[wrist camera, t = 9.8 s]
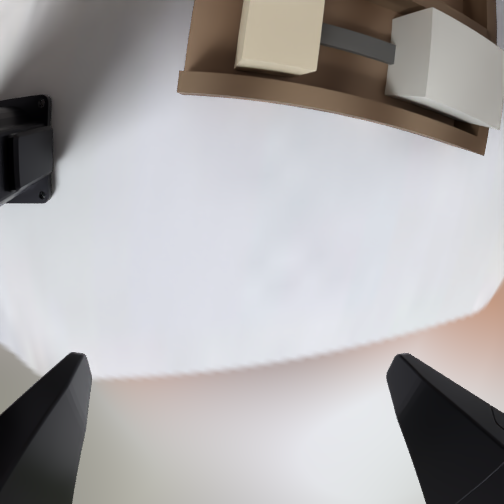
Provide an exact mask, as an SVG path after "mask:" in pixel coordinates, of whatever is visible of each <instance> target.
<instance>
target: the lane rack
mask: <svg viewBox="0 0 504 504" xmlns="http://www.w3.org/2000/svg"><path fill="white" fill-rule="evenodd" d="M243 2H244V0H195V1H194V7H193V13H192V19H191V25H190V32H189V38H188V45H187V53H186V60H185V68H184V71H179V79H178V87H177V92H178V93H180V94H182V95H198V96H212V97H224V98H235V99H244V100H253V101H261V102H269V103H276V104H283V105H290V106H296V107H302V108H308V109H313V110H319V111H324V112H329V113H334V114H339V115H344V116H348V117H353V118H357V119H362V120H366V121H370V122H374V123H378V124H382V125H386V126H390V127H393V128H397V129H401V130H404V131H408V132H411V133H414V134H418V135H421V136H424V137H428V138H431V139H434V140H437V141H440V142H443V143H446V144H449V145H452V146H455V147H458V148H462V149H465V150H468V151H471V152H474V153H477V154H480V155H483V156H484V154H485V148H486V143H487V137H488V131H489V127H485V126H480V125H476V124H471V123H466V122H462V121H457V120H454V119H452V118H449V117H447V116H444V115H442V114H439V113H437V112H434V111H431V110H429V109H426V108H423V107H420V106H417V105H414V104H411V103H408V102H405V101H402V100H399V99H396V98H393V97H390V96H386V95H385V87H386V80H387V71H388V64H386V63H383V62H380V61H377V60H374V59H371V58H367V57H364V56H361V55H357V54H354V53H350V52H347V51H343V50H339V49H335V48H331V47H327V46H323V45H320V47H319V55H318V62H317V70H316V71H314V72H310V73H306V74H303V75H299V76H296V77H292V78H291V77H285V76H279V75H273V74H266V73H258V72H251V71H242V70H234V65H235V58H236V50H237V43H238V36H239V29H240V22H241V15H242V8H243ZM431 7H434V8H435V9H437V10H439V11H441V12H443V13H445V14H447V15H449V16H450V17H452V18H454V19H456V20H457V21H459V22H461V23H463V24H464V25H466V26H468V27H469V28H471V29H472V30H474V31H476V32H477V33H479V34H480V35H482V36H483V37H485V38H486V39H488V40H489V41H491V42H492V43H494V44H495V45H497V20H496V0H325V4H324V13H323V22H322V23H326V24H330V25H334V26H337V27H341V28H345V29H348V30H351V31H355V32H358V33H361V34H364V35H368V36H371V37H374V38H377V39H380V40H382V41H385V42H388V43H391V33H392V20H393V19H395V18H398V17H401V16H404V15H407V14H410V13H414V12H417V11H420V10H424V9H427V8H431Z"/></svg>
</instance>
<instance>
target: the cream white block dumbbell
mask: <svg viewBox="0 0 504 504" xmlns="http://www.w3.org/2000/svg"><path fill="white" fill-rule="evenodd" d="M324 4H325V0H244V2H243V8H242V15H241V22H240V29H239V36H238V43H237V50H236V58H235V65H234V70H242V71H251V72H258V73H266V74H273V75H279V76H285V77H291V78H292V77H296V76H299V75H303V74H306V73H310V72H314V71H316V70H317V62H318V55H319V47H320V45H323V46H327V47H331V48H335V49H339V50H343V51H347V52H350V53H354V54H357V55H361V56H364V57H367V58H371V59H374V60H377V61H380V62H383V63H386V64H388V71H387V80H386V87H385V95H386V96H390V97H393V98H396V99H399V100H402V101H405V102H408V103H411V104H414V105H417V106H420V107H423V108H426V109H429V110H431V111H434V112H437V113H439V114H442V115H444V116H447V117H449V118H452V119H454V120H457V121H462V122H466V123H471V124H476V125H480V126H485V127H489V128H493V129H497V130H500V124H501V117H502V109H503V100H504V50H502V49H501V48H500V47H498V46H497V45H495V44H494V43H492V42H491V41H489V40H488V39H486V38H485V37H483V36H482V35H480V34H479V33H477V32H476V31H474V30H472V29H471V28H469V27H468V26H466V25H464V24H463V23H461V22H459V21H457V20H456V19H454V18H452V17H450V16H449V15H447V14H445V13H443V12H441V11H439V10H437V9H435V8H434V7H431V8H427V9H424V10H420V11H417V12H414V13H410V14H407V15H404V16H401V17H398V18H395V19H393V20H392V33H391V43H388V42H385V41H382V40H380V39H377V38H374V37H371V36H368V35H364V34H361V33H358V32H355V31H351V30H348V29H345V28H341V27H337V26H334V25H330V24H326V23H322V22H323V13H324Z"/></svg>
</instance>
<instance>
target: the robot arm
mask: <svg viewBox="0 0 504 504" xmlns="http://www.w3.org/2000/svg"><path fill="white" fill-rule="evenodd" d="M43 99H44V101H45V104H44V106H43V107H42V106H41V101H42V100H43ZM50 121H51V98H50V96H48V95H35V96H28V97H21V98H15V99H9V100H3V101H0V206H2V205H3V204H5V203H46V202H47V201H48V200H50V198H51V195H52V192H51V172H52V170H53V154H52V139H53V130H52V128H51V127H50ZM42 191H43V192H44V193H45V195H46V196H45V197H43V196H42V194H41V193H42ZM386 378H387V383H388V387H389V390H390V393H391V398H392V401H393V405H394V409H395V413H396V416H397V420H398V423H399V425H400V428H401V431H402V433H403V436H404V439H405V442H406V445H407V448H408V450H409V453H410V456H411V459H412V462H413V465H414V468H415V470H416V474H417V477H418V480H419V483H420V486H421V489H422V492H423V495H424V498H425V502H426V504H504V413H502V412H501V411H499V410H498V409H496V408H494V407H493V406H490V404H488V403H486V402H485V401H483V400H482V399H480V398H479V397H477V396H475V395H474V394H472V393H471V392H469V391H467V390H466V389H464V388H463V387H461V386H460V385H458V384H456V383H455V382H453V381H452V380H450V379H449V378H447V377H445V376H444V375H442V374H441V373H439V372H437V371H436V370H434V369H433V368H431V367H430V366H428V365H426V364H425V363H423V362H422V361H420V360H419V359H417V358H415V357H414V356H412V355H411V354H409V353H403V354H397V355H396V356H395V358H394V360H393V361H392V364H391V366H390V368H389V370H388V372H387V375H386ZM91 384H92V375H91V371H90V368H89V364H88V360H87V357H86V355H85V354H83V353H76V352H71V353H69V354H68V355H67V356H66V357H65V358H64V359H62V360H61V361H60V362H59V363H58V364H57V365H55V366H54V367H53V368H52V369H51V370H50V371H49V372H47V373H46V374H45V375H44V376H43V377H42V378H41V379H40V380H38V381H37V382H36V383H35V384H34V385H33V386H32V387H30V389H28V390H27V391H26V392H25V393H24V394H23V395H22V396H21V397H19V398H18V399H17V400H16V401H15V402H14V403H13V404H12V405H11V406H9V407H8V408H7V409H6V410H5V411H4V412H3V413H2V414H1V415H0V504H72V501H73V494H74V488H75V482H76V476H77V471H78V465H79V460H80V455H81V450H82V445H83V441H84V436H85V431H86V424H87V415H88V407H89V399H90V391H91Z"/></svg>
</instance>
